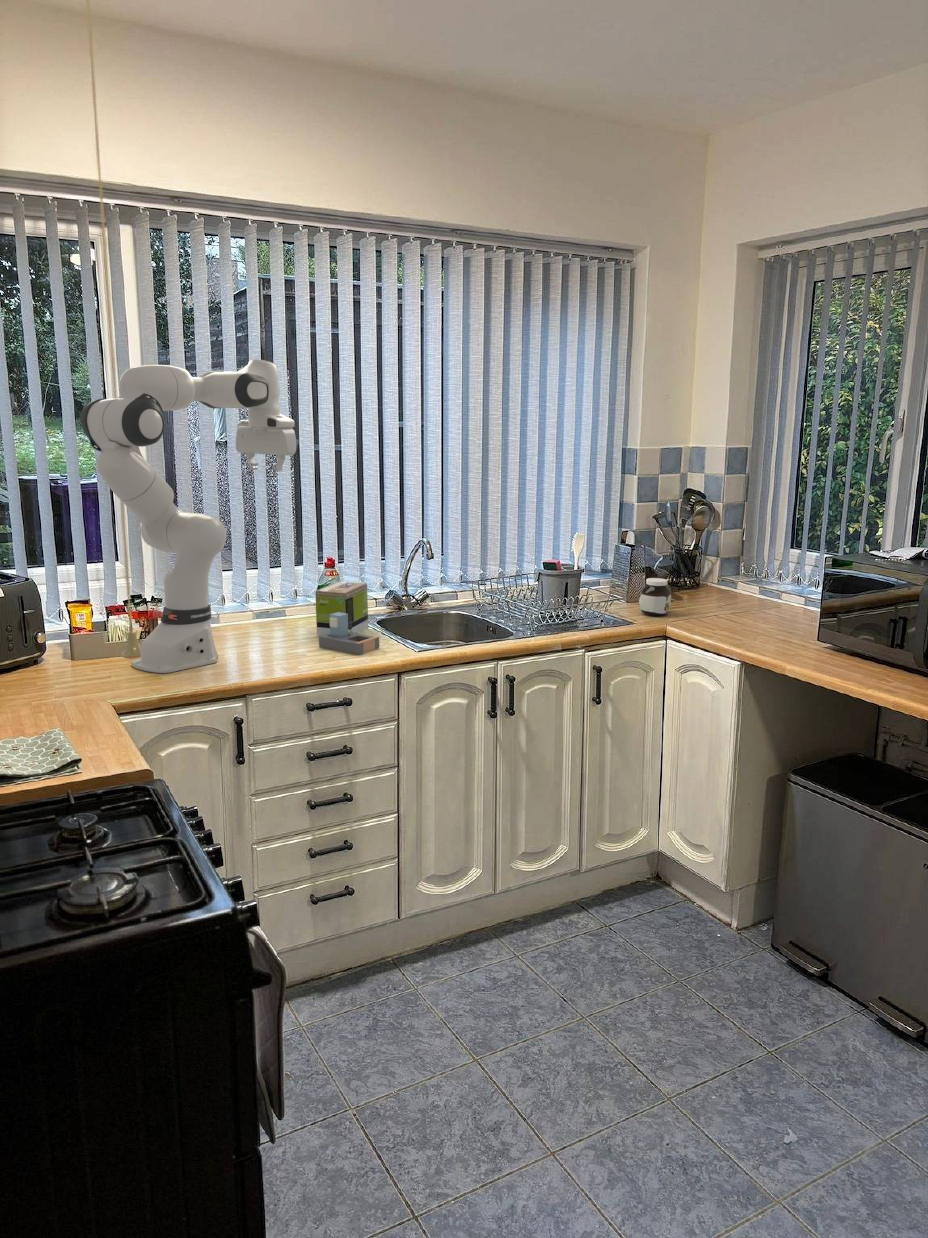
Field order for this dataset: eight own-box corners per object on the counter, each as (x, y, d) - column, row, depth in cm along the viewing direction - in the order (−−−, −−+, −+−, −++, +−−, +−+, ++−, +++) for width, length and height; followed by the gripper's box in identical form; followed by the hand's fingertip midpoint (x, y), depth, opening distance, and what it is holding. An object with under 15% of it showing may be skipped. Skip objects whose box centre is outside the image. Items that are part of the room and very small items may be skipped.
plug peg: (338, 648, 257) (337, 616, 255) (328, 646, 259) (328, 614, 257) (348, 645, 261) (347, 613, 258) (338, 643, 262) (338, 612, 260)
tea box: (339, 627, 284) (338, 580, 281) (369, 631, 281) (368, 582, 278) (315, 639, 271) (314, 589, 267) (346, 642, 267) (346, 592, 264)
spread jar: (655, 618, 303) (657, 583, 300) (627, 612, 311) (629, 578, 308) (676, 613, 311) (679, 579, 308) (649, 607, 319) (651, 574, 316)
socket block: (358, 658, 251) (358, 643, 250) (319, 650, 258) (318, 635, 257) (379, 651, 258) (379, 636, 258) (340, 643, 266) (339, 629, 265)
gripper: (229, 419, 263) (231, 469, 266) (283, 421, 253) (284, 473, 256) (245, 419, 268) (247, 467, 272) (299, 421, 258) (300, 471, 261)
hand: (265, 470), depth 264 cm, fingers open, 8 cm apart
